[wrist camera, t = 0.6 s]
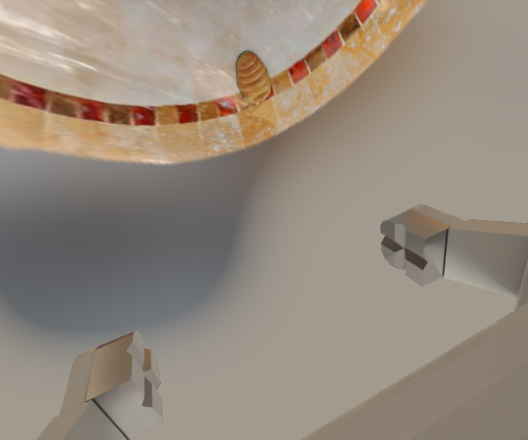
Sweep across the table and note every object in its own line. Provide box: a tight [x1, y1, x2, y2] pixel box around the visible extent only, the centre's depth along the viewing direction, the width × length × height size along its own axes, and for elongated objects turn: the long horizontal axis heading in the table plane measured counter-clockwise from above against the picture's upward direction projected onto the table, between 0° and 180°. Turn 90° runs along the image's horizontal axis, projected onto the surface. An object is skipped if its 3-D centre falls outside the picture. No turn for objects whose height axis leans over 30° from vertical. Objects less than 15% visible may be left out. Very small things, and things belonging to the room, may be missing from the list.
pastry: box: [236, 51, 271, 103], centre depth 57 cm, size 9×7×4 cm
